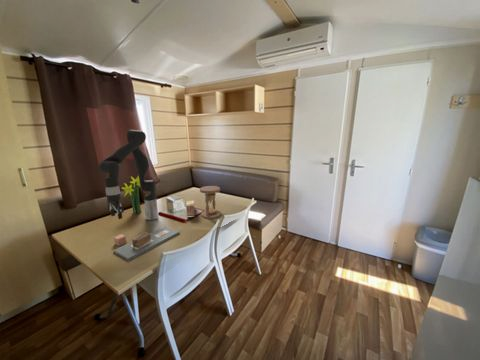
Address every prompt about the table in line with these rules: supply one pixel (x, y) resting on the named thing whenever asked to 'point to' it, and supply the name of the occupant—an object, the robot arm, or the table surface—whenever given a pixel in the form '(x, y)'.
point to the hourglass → (210, 196)
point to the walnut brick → (141, 239)
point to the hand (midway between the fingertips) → (116, 217)
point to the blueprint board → (156, 239)
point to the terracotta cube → (120, 240)
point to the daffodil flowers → (134, 192)
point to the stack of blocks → (190, 208)
